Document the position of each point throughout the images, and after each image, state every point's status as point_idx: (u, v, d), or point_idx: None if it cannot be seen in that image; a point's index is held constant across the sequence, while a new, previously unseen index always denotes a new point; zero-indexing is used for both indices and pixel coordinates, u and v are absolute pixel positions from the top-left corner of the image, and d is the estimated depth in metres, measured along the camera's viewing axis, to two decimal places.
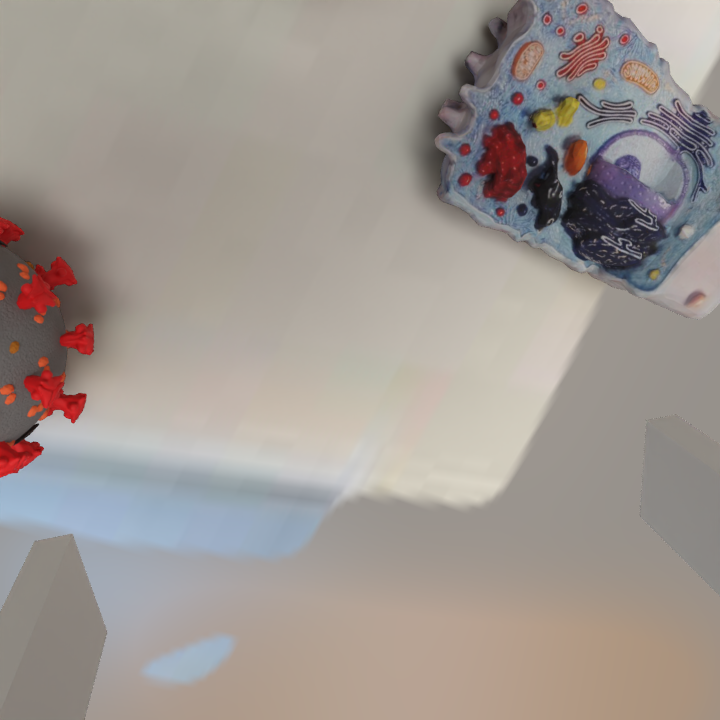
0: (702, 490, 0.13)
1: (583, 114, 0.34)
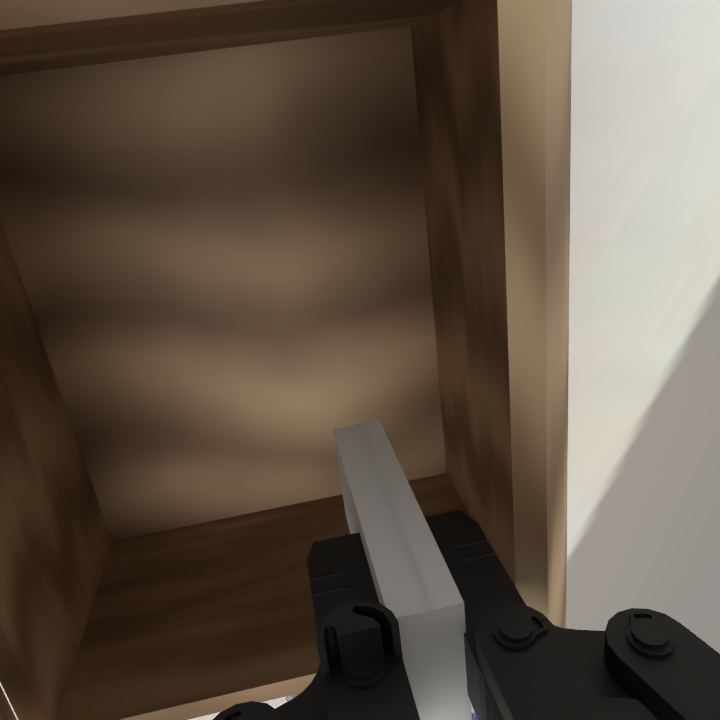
0: None
1: None
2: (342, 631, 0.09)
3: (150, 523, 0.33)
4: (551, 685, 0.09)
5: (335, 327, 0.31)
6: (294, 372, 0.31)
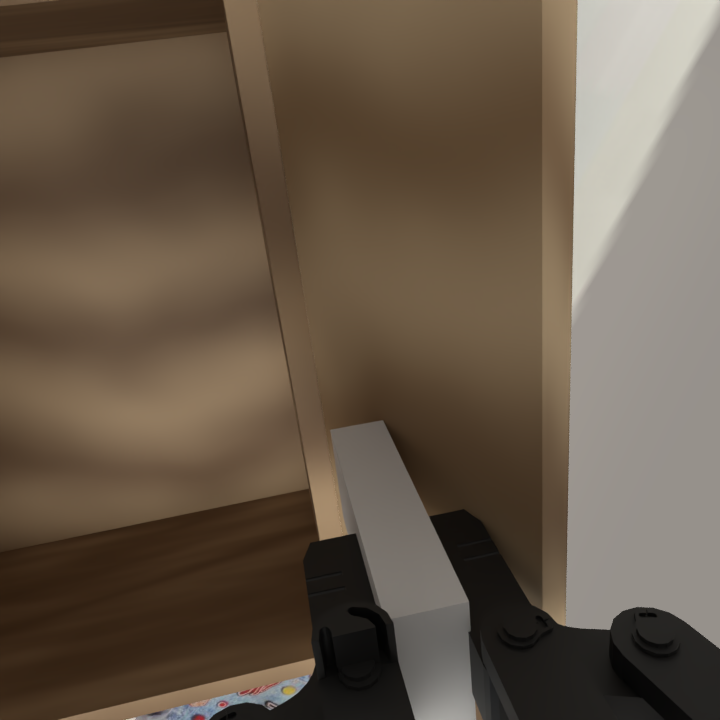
0: None
1: None
2: (337, 632, 0.09)
3: None
4: (556, 684, 0.09)
5: (175, 342, 0.30)
6: (135, 388, 0.30)
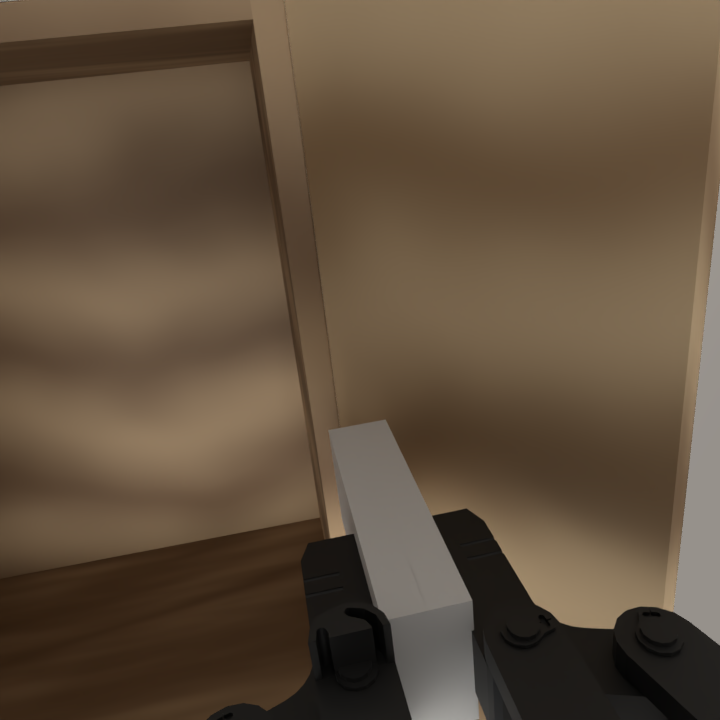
0: None
1: None
2: (334, 633, 0.09)
3: (1, 567, 0.31)
4: (558, 683, 0.09)
5: (189, 368, 0.29)
6: (148, 413, 0.30)
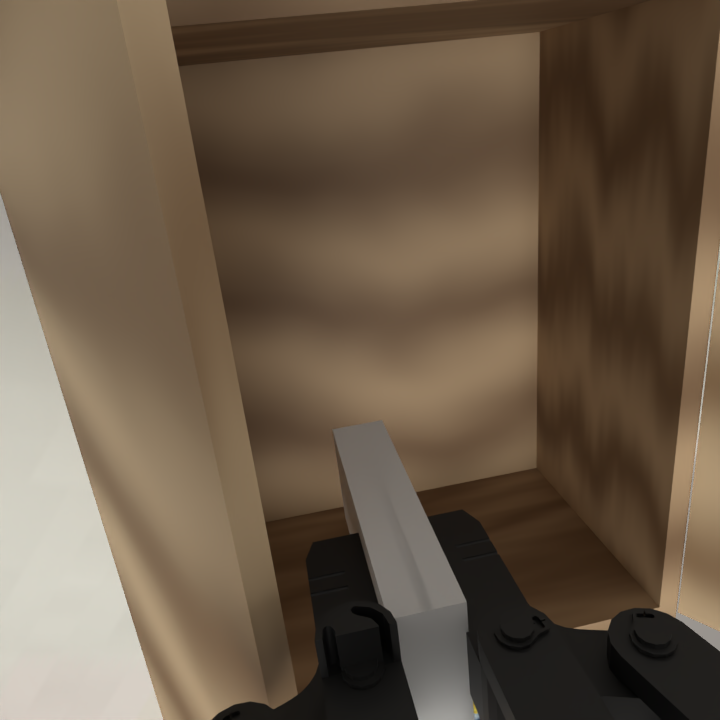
0: None
1: None
2: (340, 631, 0.09)
3: None
4: (553, 685, 0.09)
5: (445, 322, 0.31)
6: (402, 366, 0.32)
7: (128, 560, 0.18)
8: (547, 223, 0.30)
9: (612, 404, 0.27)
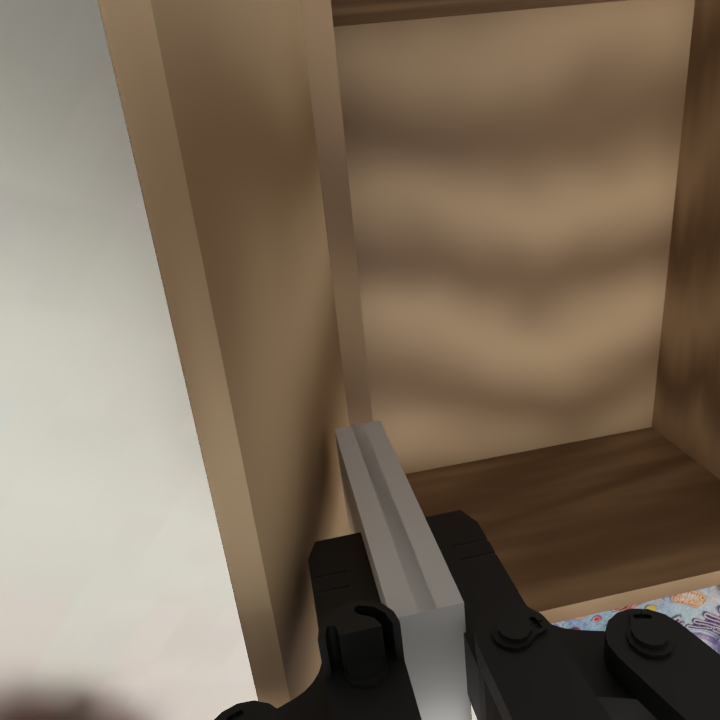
0: None
1: None
2: (344, 631, 0.09)
3: None
4: (550, 685, 0.09)
5: (580, 281, 0.32)
6: (536, 324, 0.33)
7: None
8: (689, 184, 0.30)
9: None
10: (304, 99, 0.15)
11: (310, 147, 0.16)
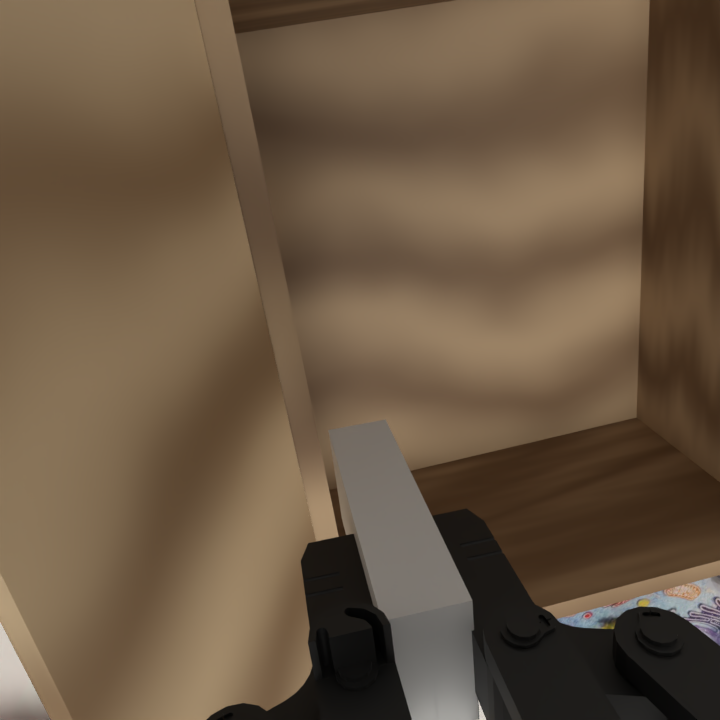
0: None
1: None
2: (334, 633, 0.09)
3: None
4: (559, 683, 0.09)
5: (550, 273, 0.32)
6: (508, 319, 0.32)
7: None
8: (656, 167, 0.30)
9: None
10: (197, 110, 0.15)
11: (210, 159, 0.15)
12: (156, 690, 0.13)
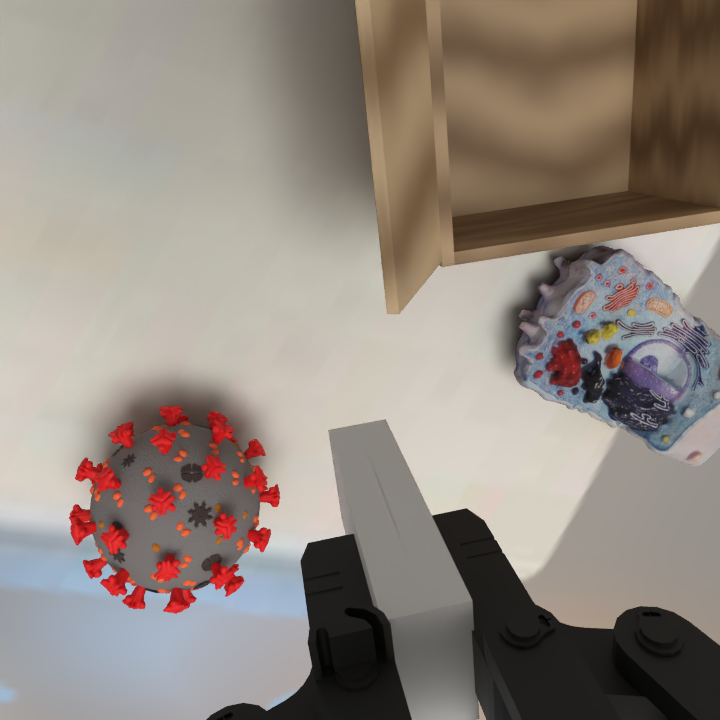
0: None
1: (620, 331, 0.49)
2: (334, 633, 0.09)
3: None
4: (559, 683, 0.09)
5: (572, 67, 0.46)
6: (542, 99, 0.47)
7: None
8: None
9: (694, 88, 0.41)
10: None
11: None
12: (392, 110, 0.28)
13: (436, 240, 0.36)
